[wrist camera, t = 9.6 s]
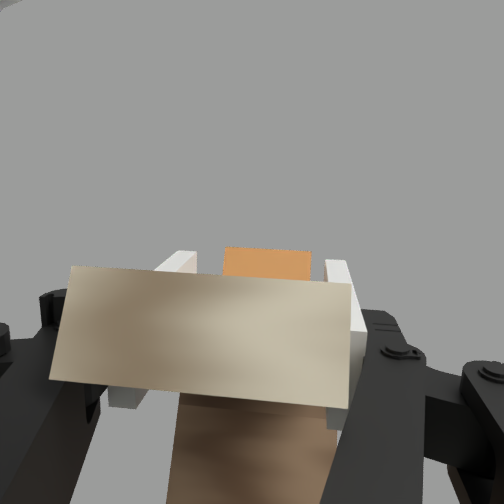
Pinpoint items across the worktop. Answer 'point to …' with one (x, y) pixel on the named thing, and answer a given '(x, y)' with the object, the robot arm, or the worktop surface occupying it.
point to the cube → (267, 263)
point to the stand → (249, 452)
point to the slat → (207, 335)
